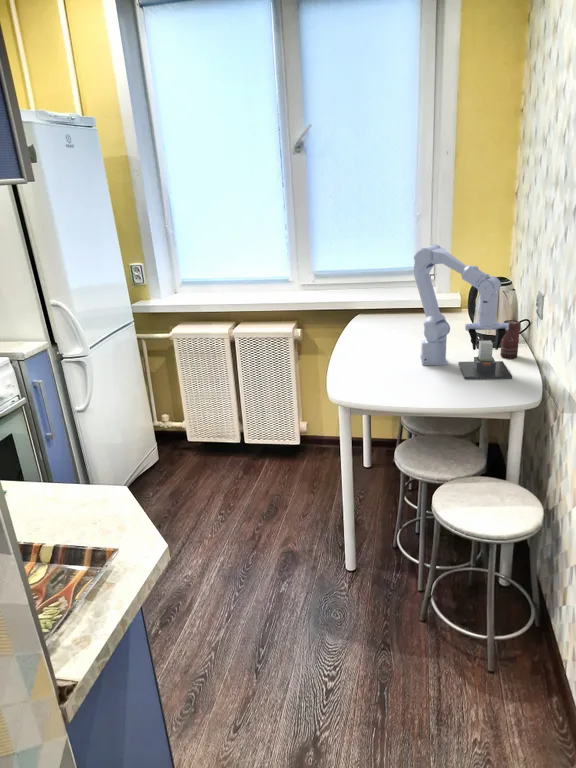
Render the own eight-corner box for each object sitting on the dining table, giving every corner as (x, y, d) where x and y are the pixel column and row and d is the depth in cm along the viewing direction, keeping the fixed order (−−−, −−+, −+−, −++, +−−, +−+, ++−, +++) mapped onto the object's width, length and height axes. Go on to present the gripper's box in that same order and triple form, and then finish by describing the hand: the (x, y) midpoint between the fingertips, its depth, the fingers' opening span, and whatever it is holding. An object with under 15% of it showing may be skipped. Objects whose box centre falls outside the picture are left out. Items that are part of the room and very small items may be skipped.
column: (479, 364, 202) (480, 344, 199) (477, 360, 206) (478, 340, 203) (491, 364, 201) (493, 343, 198) (489, 360, 205) (491, 340, 202)
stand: (464, 379, 198) (465, 367, 197) (458, 364, 213) (458, 353, 212) (511, 379, 196) (513, 366, 194) (502, 363, 211) (503, 352, 209)
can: (519, 359, 214) (522, 323, 209) (501, 359, 215) (504, 323, 210) (516, 354, 219) (519, 319, 214) (499, 354, 221) (501, 319, 216)
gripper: (468, 315, 194) (466, 352, 199) (511, 314, 192) (508, 352, 197) (465, 310, 201) (463, 346, 206) (507, 309, 199) (504, 346, 204)
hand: (485, 349), depth 202 cm, fingers open, 7 cm apart
